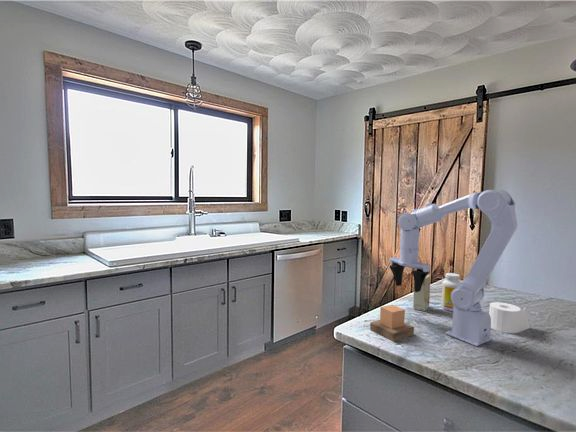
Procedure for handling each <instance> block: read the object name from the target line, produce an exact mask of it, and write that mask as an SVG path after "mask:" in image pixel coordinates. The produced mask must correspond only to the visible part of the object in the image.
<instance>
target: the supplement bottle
mask: <svg viewBox="0 0 576 432" xmlns="http://www.w3.org/2000/svg"><path fill="white" fill-rule="evenodd" d="M444 276H445V279H443V281H442V283H441V284H442V285H441V301H440V303H441V305H440V306H441V308H442V309H444V310H446V311H450V312H453V302H452V300H451V293H452V291H453V290H454V289H456V288H457V287H459V286H460V284H461V282H462V281H460V278H461V276H460V274H458V273H454V272H446V273H445V275H444Z"/></svg>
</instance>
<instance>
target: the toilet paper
mask: <svg viewBox="0 0 576 432" xmlns="http://www.w3.org/2000/svg"><path fill="white" fill-rule="evenodd" d="M488 310H489V312H488V314H489V315H490V317H491V329H492V330H495V331H498V332H501V333H506V334H518V333H520V332H523V331H526V330H528V329H530V324H529V323H530V322H529V319H528V313H527V309H526V307H524V308H523V309H521V307H519V306H517V305H514V304H512V303H511V304H510V303H508V302H500V301H499V302H498V301H497V302H496V301H495V302H494V301H493V302H490V303H489V309H488Z"/></svg>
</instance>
